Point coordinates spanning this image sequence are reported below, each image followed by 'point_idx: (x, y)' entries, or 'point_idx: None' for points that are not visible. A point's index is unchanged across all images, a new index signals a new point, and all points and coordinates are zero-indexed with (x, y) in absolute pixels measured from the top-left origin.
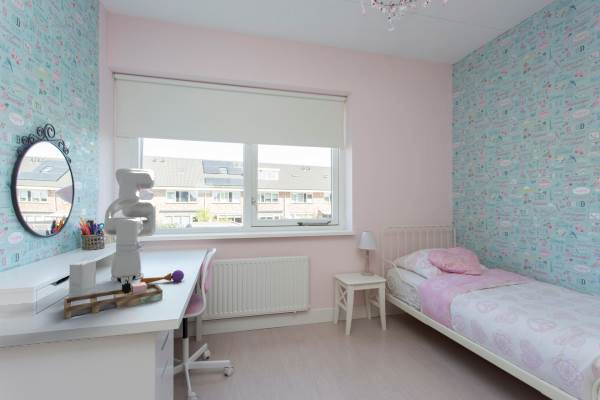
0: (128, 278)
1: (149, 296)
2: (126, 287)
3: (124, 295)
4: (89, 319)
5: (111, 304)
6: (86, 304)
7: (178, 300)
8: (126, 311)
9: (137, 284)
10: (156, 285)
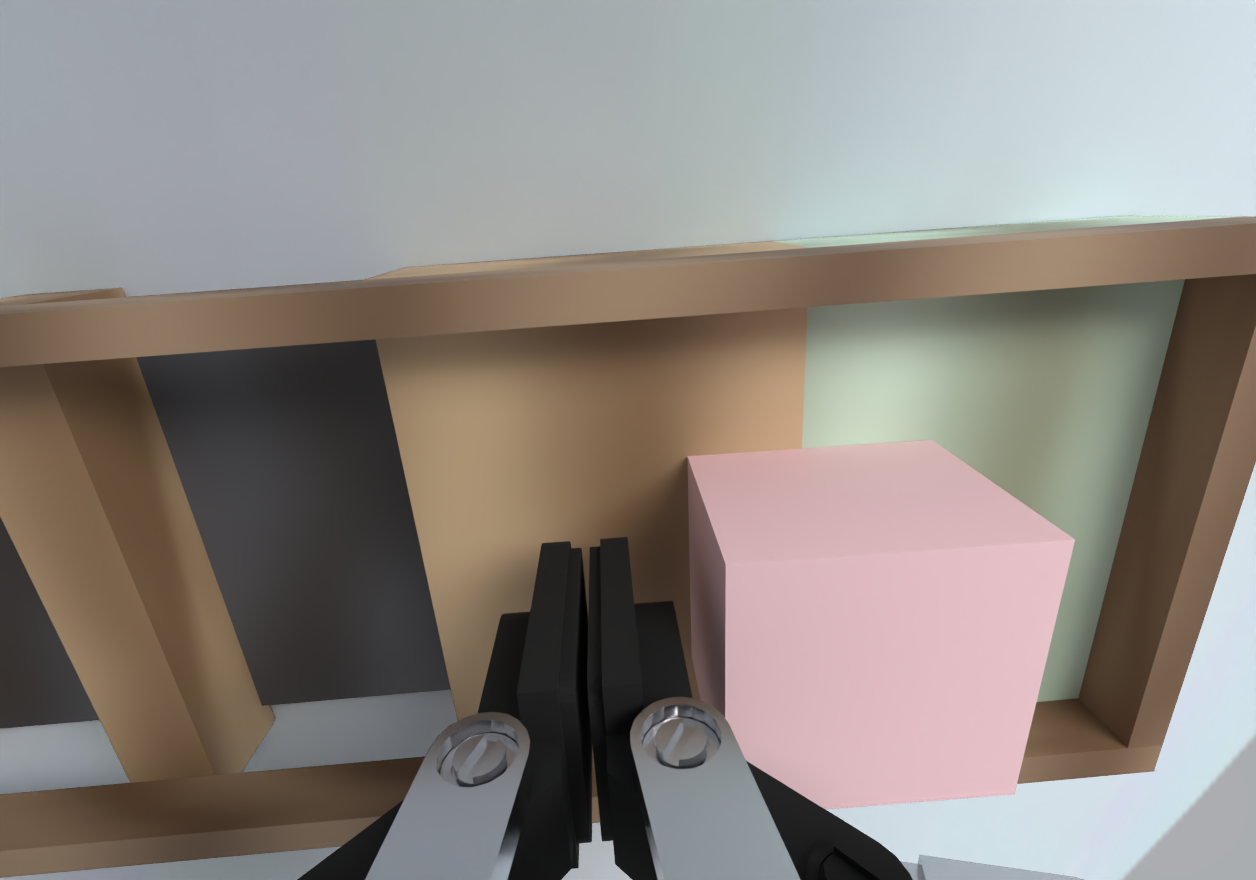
0: (663, 850)
1: None
2: (590, 776)
3: (566, 520)
4: (230, 866)
5: (392, 549)
6: (29, 865)
7: (1152, 779)
8: None
9: (852, 681)
10: (1238, 431)
